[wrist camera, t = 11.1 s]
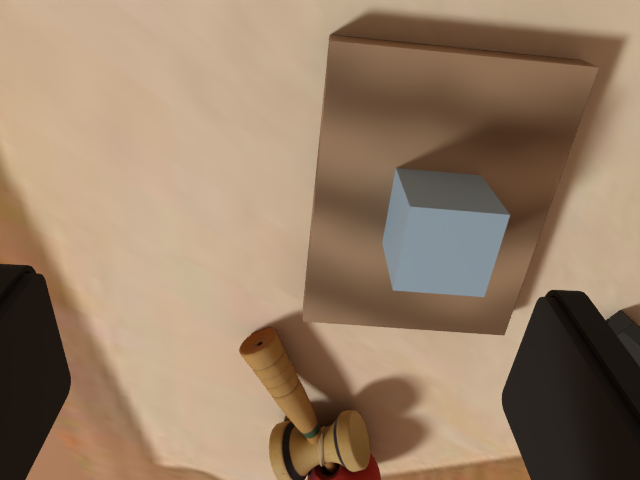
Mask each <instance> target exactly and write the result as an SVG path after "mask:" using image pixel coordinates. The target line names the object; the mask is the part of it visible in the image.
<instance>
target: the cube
mask: <svg viewBox="0 0 640 480" xmlns="http://www.w3.org/2000/svg"><path fill="white" fill-rule="evenodd" d="M509 217H510V214H509V213H508V211H507V210H506V208H505V207H504V206H503V204H502V203H501V202H500V200H499V199H498V197H497V196H496V195H495V193H494V192H493V191H492V189H491V188H490V186H489V185H488V184H487V182H486V181H485V180H484V178H483V177H482V176H481V175H471V174H459V173H448V172H436V171H425V170H413V169H402V168H396V170H395V175H394V181H393V186H392V192H391V197H390V203H389V208H388V214H387V219H386V225H385V231H384V236H383V242H382V245H383V249H384V253H385V258H386V262H387V267H388V271H389V275H390V280H391V284H392V289H393V290H394V291H407V292H421V293H435V294H448V295H462V296H475V297H485V294H486V290H487V287H488V284H489V281H490V278H491V274H492V271H493V268H494V265H495V262H496V259H497V255H498V252H499V249H500V246H501V243H502V239H503V236H504V233H505V230H506V227H507V224H508V220H509Z"/></svg>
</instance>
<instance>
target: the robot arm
mask: <svg viewBox="0 0 640 480" xmlns="http://www.w3.org/2000/svg"><path fill="white" fill-rule="evenodd" d="M70 385H71V376H70V372H69V368H68V364H67V360H66V357H65V353H64V349H63V345H62V342H61V338H60V334H59V330H58V326H57V323H56V319H55V315H54V311H53V307H52V304H51V300H50V296H49V292H48V288H47V285H46V281H45V278H44V276H43V275H42V274H36V272H35V270H34V269H33V267H32V266H29V265H10V264H0V480H25V479H26V477H27V475H28V473H29V471H30V469H31V467H32V465H33V463H34V461H35V459H36V457H37V456H38V454H39V452H40V450H41V448H42V446H43V444H44V442H45V440H46V438H47V436H48V434H49V432H50V430H51V428H52V426H53V424H54V422H55V420H56V418H57V416H58V414H59V412H60V410H61V408H62V406H63V404H64V402H65V400H66V398H67V396H68V393H69V390H70ZM502 406H503V410H504V413H505V415H506V418H507V420H508V423H509V425H510V428H511V430H512V433H513V435H514V438H515V440H516V443H517V445H518V448H519V450H520V453H521V455H522V458H523V460H524V463H525V466H526V468H527V471H528V473H529V476H530V478H531V480H640V366H639V365H638V364H637V362H636V361H635V360H634V358H633V357H632V356H631V354H630V353H629V352H628V350H627V349H626V348H625V346H624V345H623V343H622V342H621V341H620V339H619V338H618V337H617V335H616V334H615V333H614V331H613V330H612V329H611V327H610V326H609V325H608V323H607V322H606V320H605V319H604V318H603V316H602V315H601V314H600V312H599V311H598V310H597V308H596V307H595V306H594V304H593V303H592V301H591V300H590V299H589V297H588V296H587V295H586V294H585V293H584V292H581V291H566V290H551V291H549V292H548V293H547V294H546V296H545V297H540V298H539V299H538V300H537V302H536V305H535V307H534V310H533V313H532V315H531V318H530V321H529V323H528V326H527V328H526V331H525V334H524V336H523V339H522V342H521V344H520V347H519V350H518V352H517V355H516V358H515V360H514V363H513V365H512V368H511V371H510V373H509V376H508V379H507V381H506V384H505V387H504V389H503V393H502Z"/></svg>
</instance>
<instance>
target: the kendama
mask: <svg viewBox="0 0 640 480" xmlns="http://www.w3.org/2000/svg"><path fill="white" fill-rule="evenodd" d="M239 352H240V354H241V356H242V357H243V358H244V359H245V361H246V362H247V363H248V365H249V366H250V367H251V368H252V369H253V371H254V372H255V374H256V375H257V376H258V377H259V379H260V380H261V382H262V383H263V384H264V386H265V387H266V389H267V390H268V391H269V393H270V394H271V395H272V397H273V398H274V400H275V401H276V403H277V404H278V405H279V407H280V408H281V409H282V411H283V412H284V413H285V414H286V416H287V417H288V418H289V419H290V421H286V422H282V423H279V424H276V426H275V427H274V428H273V430H272V432H271V435H270V441H269V455H270V462H271V466H272V469H273V472H274V474H275V476H276V478H277V479H278V480H305V478H306V476H307V475H308V479H307V480H381V476H380V471H379V468H378V465H377V463H376V461H375V459H374V457H373V456H372V454H371V453H370V443H369V436H368V432H367V428H366V425H365V423H364V421H363V419H362V417H361V415H360V414H359V413H358V412H357V411H356V410H349V411H343V412H341V413H340V415H339V416H338V418H337V419H336V421H335V422H334V423H333V424H332V425H330V426H329V427H325V426H323V427H322V428H320V426H319V424H318V421H317V418H316V416H315V413H314V411H313V408H312V405H311V403H310V401H309V398H308V396H307V394H306V392H305V390H304V388H303V386H302V384H301V382H300V380H299V378H298V376H297V374H296V372H295V370H294V368H293V366H292V364H291V362H290V360H289V358H288V356H287V354H286V352H285V350H284V349H283V346H282V343H281V341H280V339H279V337H278V334H277V333H276V331H275V330H274V329H272V328H265V329H262V330H260V331H257V332H255V333H253V334H251V335H250V336H249V337H248V338H247V339H246V340H245V341H244V342H243V343H242V344H241V346H240V349H239Z"/></svg>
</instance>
